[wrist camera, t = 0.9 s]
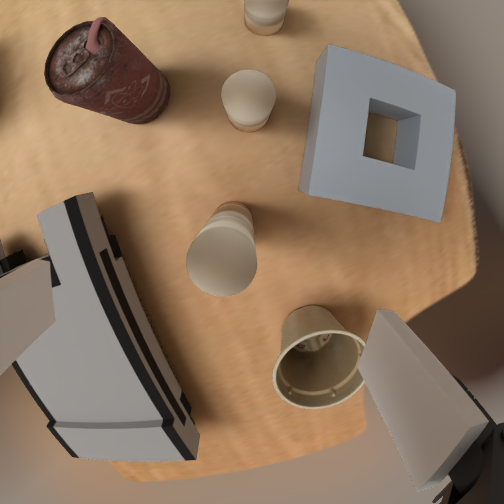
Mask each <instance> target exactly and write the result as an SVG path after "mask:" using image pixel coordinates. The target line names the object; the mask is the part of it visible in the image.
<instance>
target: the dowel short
mask: <svg viewBox="0 0 504 504" xmlns="http://www.w3.org/2000/svg"><path fill="white" fill-rule="evenodd" d="M288 2H289V0H244V12H245V25H246V27H247V28H248V29H249V30H250V31H251V32H252V33H254V34H257V35H262V36H267V35H272V34H275V33H276V32H278V31H279V30H280V29H281V27H282V25H283V21H284V17H285V14H286V10H287V6H288Z"/></svg>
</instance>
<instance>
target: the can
mask: <svg viewBox="0 0 504 504" xmlns="http://www.w3.org/2000/svg"><path fill="white" fill-rule="evenodd" d="M44 75H45V80H46V84H47V85H48V87H49V89H50V91H51V92H52V93H53V95H54V96H55V98H57V99H59V100H61V101H63V102H65V103H68V104H72V105H75V106H78V107H82V108H85V109H88V110H91V111H94V112H98V113H101V114H104V115H107V116H110V117H113V118H116V119H119V120H122V121H125V122H128V123H132V124H142V123H147V122H149V121H151V120H153V119H155V118H156V117H157V116H158V115H160V114H161V113H162V112H163V110H164V109H165V107H166V105H167V104H168V100H169V97H170V86H169V83H168V81H167V79H166V78H165V76H164V75H163V74H162V73H161V72H160V71H159V70H158V69H157V68H156V67H155V66H154V65H153V64H152V63H151V62H150V61H149V60H148V59H147V58H146V57H145V55H144V54H143V53H142V52H141V51H140V50H139V49H138V48H137V47H136V46H135V45H134V44H133V43H132V42H131V41H130V40H129V39H128V38H127V37H126V36H125V35H124V34H123V33H122V32H121V31H120V30H119V29H118V28H117V27H116V26H115V25H114V24H113V23H112V22H111V21H109V20H108V19H107V18H106V17H100V18H97V19H96V20H95V21H86V22H83V23H80V24H78V25H75V26H74V27H72V28H71V29H69V30H68V31H66V32H65V33H64V34H63V35H62V36H61V37H60V38H59V39H58V40H57V41H56V43H55V44H54V46H53V47H52V49H51V50H50V52H49V55H48V57H47V60H46V63H45V72H44Z"/></svg>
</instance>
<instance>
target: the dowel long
mask: <svg viewBox="0 0 504 504" xmlns="http://www.w3.org/2000/svg"><path fill="white" fill-rule="evenodd" d="M186 267H187V271H188V274H189V277H190V278H191V280H192V281H193V283H194V284H195V285H196V286H197V287H198V288H199V289H200V290H202V291H204V292H205V293H207V294H210V295H213V296H219V297H227V296H232V295H235V294H237V293H240V292H241V291H243V290H244V289H245V288H247V287H248V285H249V284H250V283H251V282H252V280H253V278H254V276H255V274H256V270H257V256H256V247H255V237H254V228H253V219H252V215H251V212H250V211H249V209H248V208H247V207H246V206H245V205H243V204H242V203H239V202H234V201H231V202H226V203H224V204H222V205H220V206H219V207H218V208H217V210H216V211H215V212H214V214H213V215H212V216H211V218H210V219H209V220H208V222H207V223H206V224H205V226H204V227H203V228H202V230H201V231H200V233H199V234H198V235H197V237H196V238H195V239H194V241H193V242H192V244H191V245H190V247H189V249H188V252H187V257H186Z"/></svg>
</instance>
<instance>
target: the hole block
mask: <svg viewBox="0 0 504 504" xmlns="http://www.w3.org/2000/svg"><path fill="white" fill-rule="evenodd" d="M455 103H456V91H455V90H453V89H451V88H449V87H447V86H445V85H443V84H440V83H438V82H436V81H434V80H432V79H429V78H427V77H425V76H423V75H420V74H418V73H415V72H413V71H410V70H408V69H405V68H403V67H400V66H398V65H395V64H392V63H389V62H387V61H384V60H381V59H378V58H375V57H372V56H369V55H365V54H362V53H359V52H356V51H352V50H349V49H345V48H341V47H338V46H334V45H330V44H328V46H327V47H326V49H325V50H324V52H323V53H322V54H321V56H320V57H319V59H318V60H317V63H316V71H315V79H314V87H313V94H312V102H311V109H310V116H309V124H308V131H307V137H306V144H305V151H304V158H303V164H302V170H301V177H300V183H299V189H298V191H300V192H302V193H304V194H307V195H310V196H316V197H322V198H327V199H333V200H338V201H343V202H348V203H354V204H359V205H364V206H368V207H373V208H378V209H383V210H387V211H392V212H396V213H401V214H405V215H410V216H414V217H418V218H422V219H427V220H431V221H435V222H439V223H441V218H442V213H443V208H444V203H445V197H446V191H447V185H448V179H449V172H450V164H451V156H452V147H453V136H454V123H455ZM368 112H371V113H375V114H378V115H381V116H385V117H388V118H391V119H394V120H397V121H398V124H397V133H396V142H395V150H394V157H393V164H391V163H388V162H384V161H380V160H376V159H372V158H368V157H364V156H363V150H364V142H365V135H366V127H367V119H368Z"/></svg>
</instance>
